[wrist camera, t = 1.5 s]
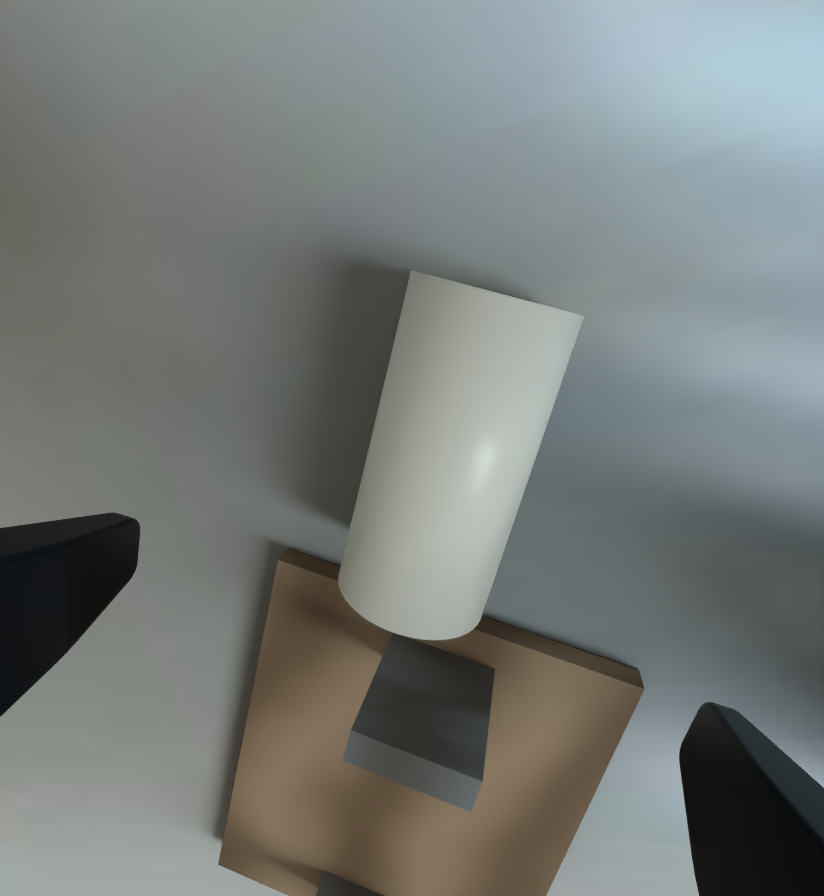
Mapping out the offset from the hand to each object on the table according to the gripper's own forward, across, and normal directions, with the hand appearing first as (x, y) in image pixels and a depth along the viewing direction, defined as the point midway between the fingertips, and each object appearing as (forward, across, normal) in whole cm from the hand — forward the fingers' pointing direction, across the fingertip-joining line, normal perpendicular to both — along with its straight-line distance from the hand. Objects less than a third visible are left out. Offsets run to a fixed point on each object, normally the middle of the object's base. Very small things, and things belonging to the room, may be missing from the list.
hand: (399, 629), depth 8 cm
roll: (+12, 0, 0) cm, 12 cm away
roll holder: (+11, -1, +15) cm, 19 cm away
